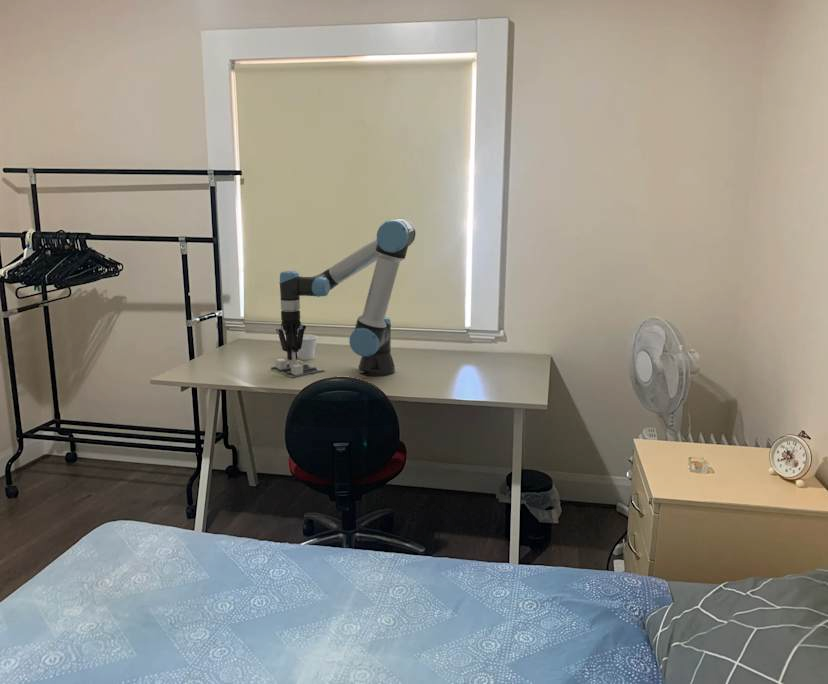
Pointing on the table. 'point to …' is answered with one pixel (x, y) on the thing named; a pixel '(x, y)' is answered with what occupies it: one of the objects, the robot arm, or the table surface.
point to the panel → (306, 371)
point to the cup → (307, 347)
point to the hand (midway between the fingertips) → (292, 367)
